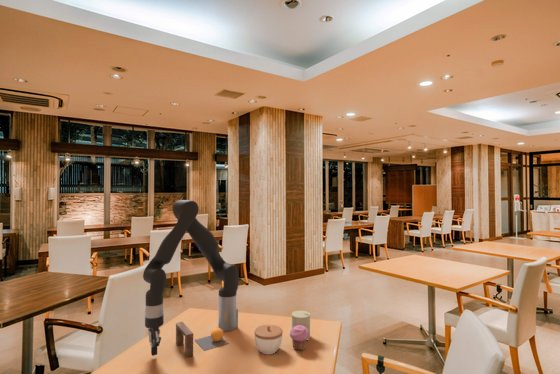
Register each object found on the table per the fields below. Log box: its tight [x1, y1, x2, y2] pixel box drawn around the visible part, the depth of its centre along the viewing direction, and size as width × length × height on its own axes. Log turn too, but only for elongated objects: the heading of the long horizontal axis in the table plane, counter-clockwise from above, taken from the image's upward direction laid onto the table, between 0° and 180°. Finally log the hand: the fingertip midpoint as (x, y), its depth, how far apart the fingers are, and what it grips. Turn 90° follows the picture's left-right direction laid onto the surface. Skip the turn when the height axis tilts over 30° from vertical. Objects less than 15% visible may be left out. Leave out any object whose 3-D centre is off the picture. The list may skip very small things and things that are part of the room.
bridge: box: [175, 321, 194, 359], centre depth 146 cm, size 3×15×10 cm, turn 35°
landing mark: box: [194, 335, 229, 351], centre depth 154 cm, size 12×12×1 cm
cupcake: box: [289, 325, 309, 351], centre depth 148 cm, size 9×9×10 cm
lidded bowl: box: [254, 324, 284, 355], centre depth 146 cm, size 13×13×11 cm
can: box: [291, 310, 311, 340], centre depth 159 cm, size 9×9×12 cm
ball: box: [210, 327, 225, 342], centre depth 155 cm, size 6×6×6 cm
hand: (154, 354), depth 139 cm, fingers closed
